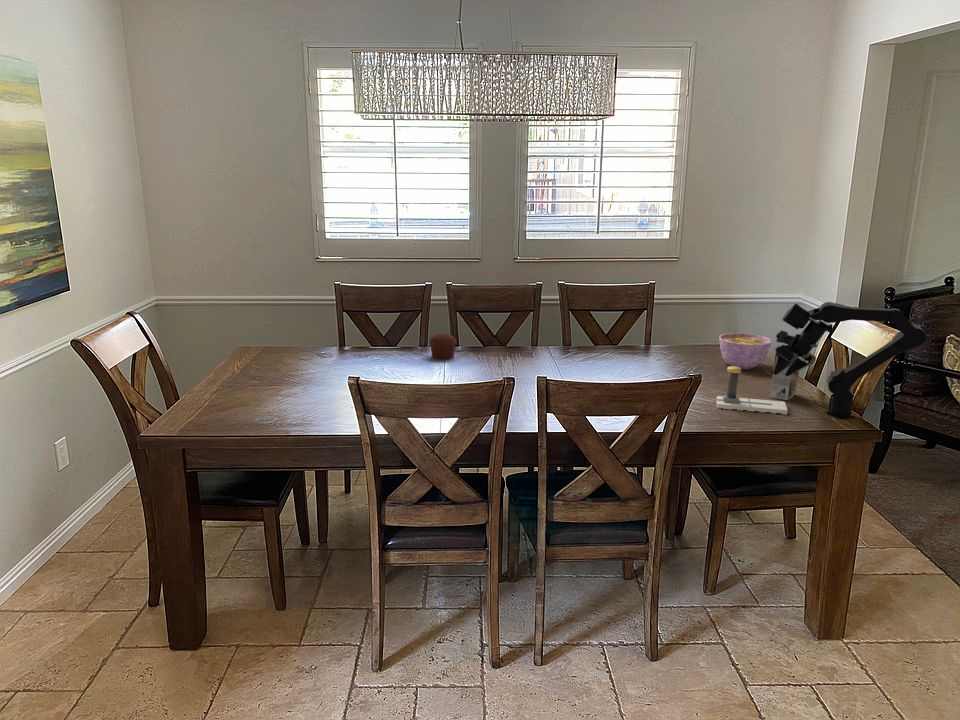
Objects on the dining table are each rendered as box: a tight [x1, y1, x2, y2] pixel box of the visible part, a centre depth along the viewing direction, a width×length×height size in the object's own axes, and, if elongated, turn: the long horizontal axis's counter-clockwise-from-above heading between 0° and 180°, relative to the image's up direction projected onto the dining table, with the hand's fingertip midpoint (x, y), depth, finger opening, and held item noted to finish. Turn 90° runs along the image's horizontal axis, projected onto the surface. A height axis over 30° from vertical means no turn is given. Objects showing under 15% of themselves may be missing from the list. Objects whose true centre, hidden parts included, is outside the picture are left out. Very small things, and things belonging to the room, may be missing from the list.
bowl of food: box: [718, 332, 772, 370], centre depth 294 cm, size 20×20×12 cm
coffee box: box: [769, 353, 800, 401], centre depth 257 cm, size 9×6×16 cm
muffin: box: [428, 332, 458, 361], centre depth 306 cm, size 12×11×10 cm
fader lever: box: [722, 365, 742, 403], centre depth 247 cm, size 5×4×11 cm
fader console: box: [715, 395, 788, 415], centre depth 247 cm, size 22×9×2 cm, turn 74°
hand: (780, 375), depth 244 cm, fingers open, 9 cm apart
